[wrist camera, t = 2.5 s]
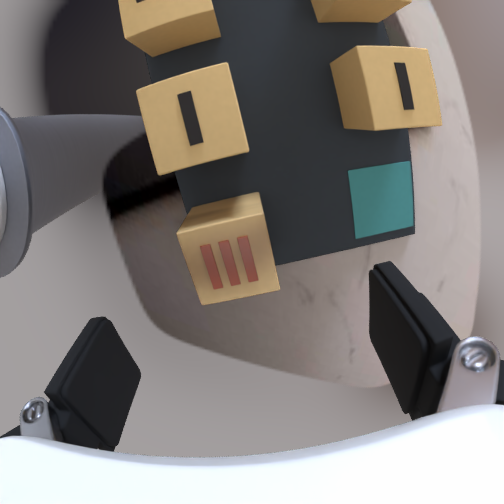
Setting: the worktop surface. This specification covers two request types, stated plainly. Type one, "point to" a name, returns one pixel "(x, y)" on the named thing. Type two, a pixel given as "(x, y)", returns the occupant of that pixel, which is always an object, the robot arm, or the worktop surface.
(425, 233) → the worktop surface
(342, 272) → the worktop surface
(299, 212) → the grey board with cubes
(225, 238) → the striped wooden cube
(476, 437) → the robot arm
